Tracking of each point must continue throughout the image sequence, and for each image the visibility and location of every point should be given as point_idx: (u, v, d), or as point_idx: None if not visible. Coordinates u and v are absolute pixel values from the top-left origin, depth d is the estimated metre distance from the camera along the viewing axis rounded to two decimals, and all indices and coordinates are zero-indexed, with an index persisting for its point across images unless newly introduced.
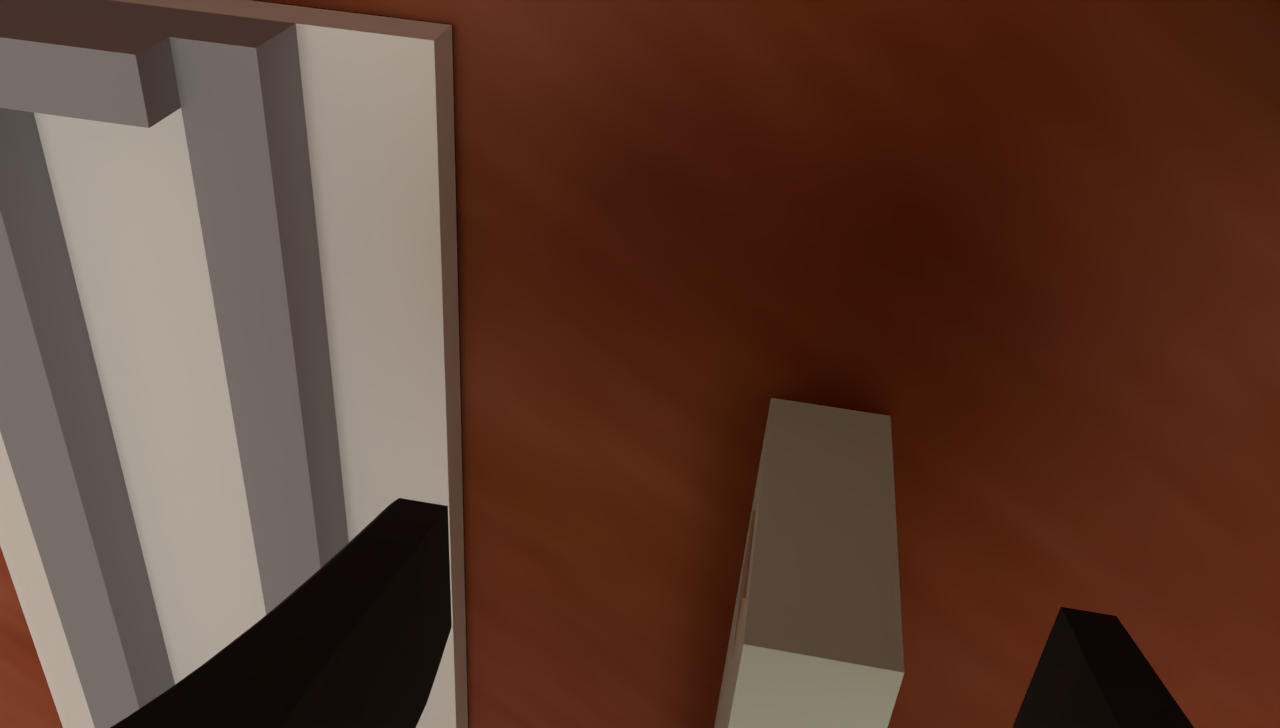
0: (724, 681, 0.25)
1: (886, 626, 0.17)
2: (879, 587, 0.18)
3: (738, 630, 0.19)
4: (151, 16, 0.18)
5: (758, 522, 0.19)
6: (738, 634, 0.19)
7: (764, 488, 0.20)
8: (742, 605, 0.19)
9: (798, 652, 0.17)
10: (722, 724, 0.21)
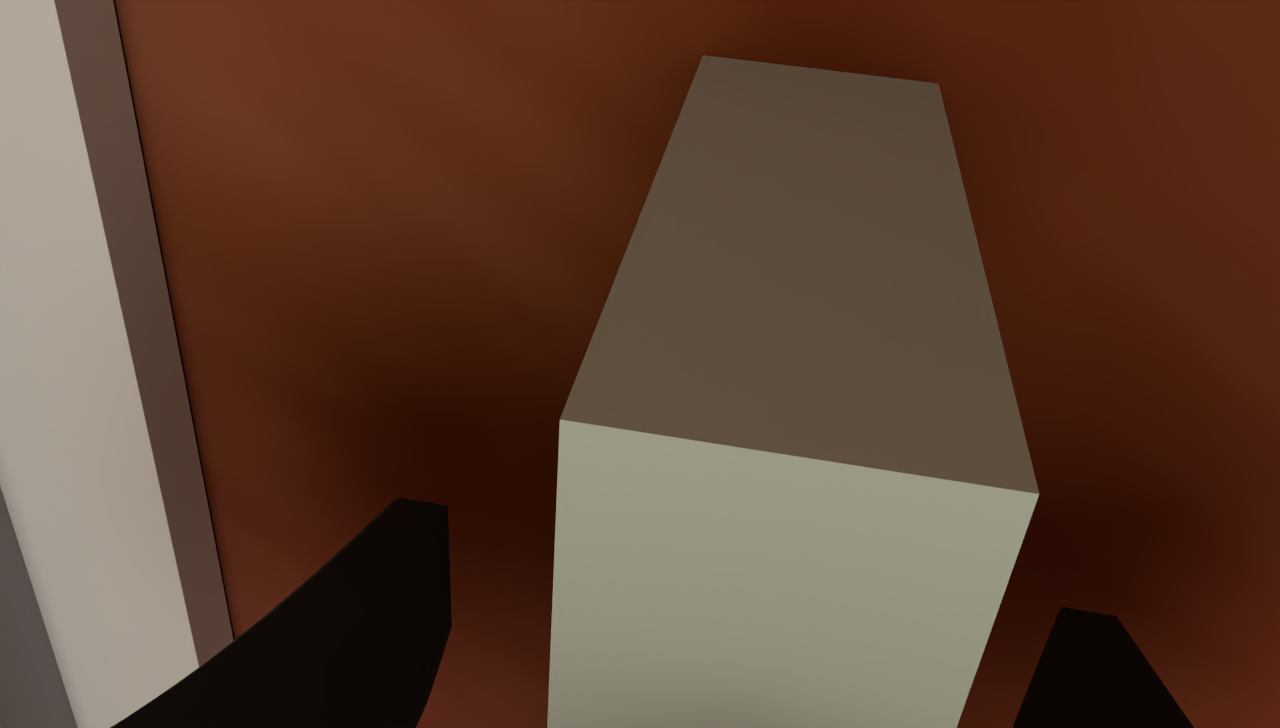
0: None
1: (971, 390, 0.06)
2: (942, 316, 0.07)
3: None
4: None
5: (647, 202, 0.08)
6: None
7: (669, 158, 0.09)
8: None
9: (719, 442, 0.06)
10: None
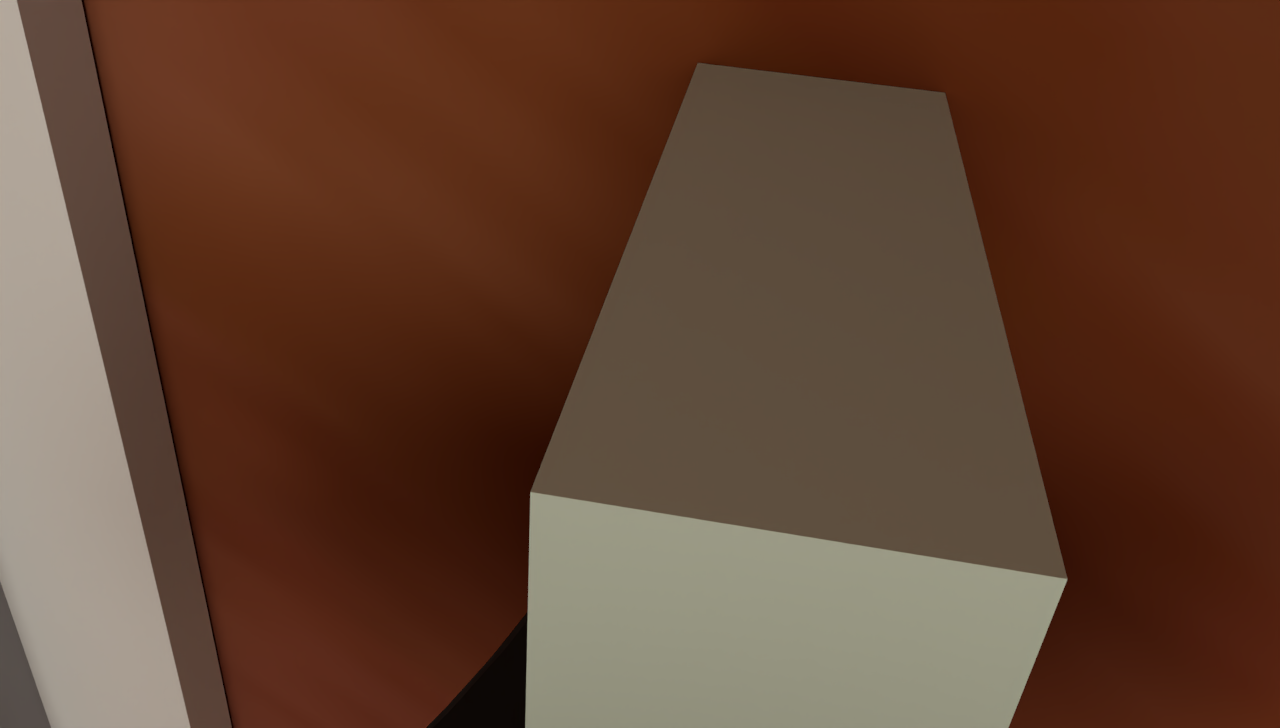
0: None
1: (988, 452, 0.06)
2: (956, 364, 0.06)
3: None
4: None
5: (634, 232, 0.07)
6: None
7: (659, 180, 0.08)
8: None
9: (708, 517, 0.05)
10: None
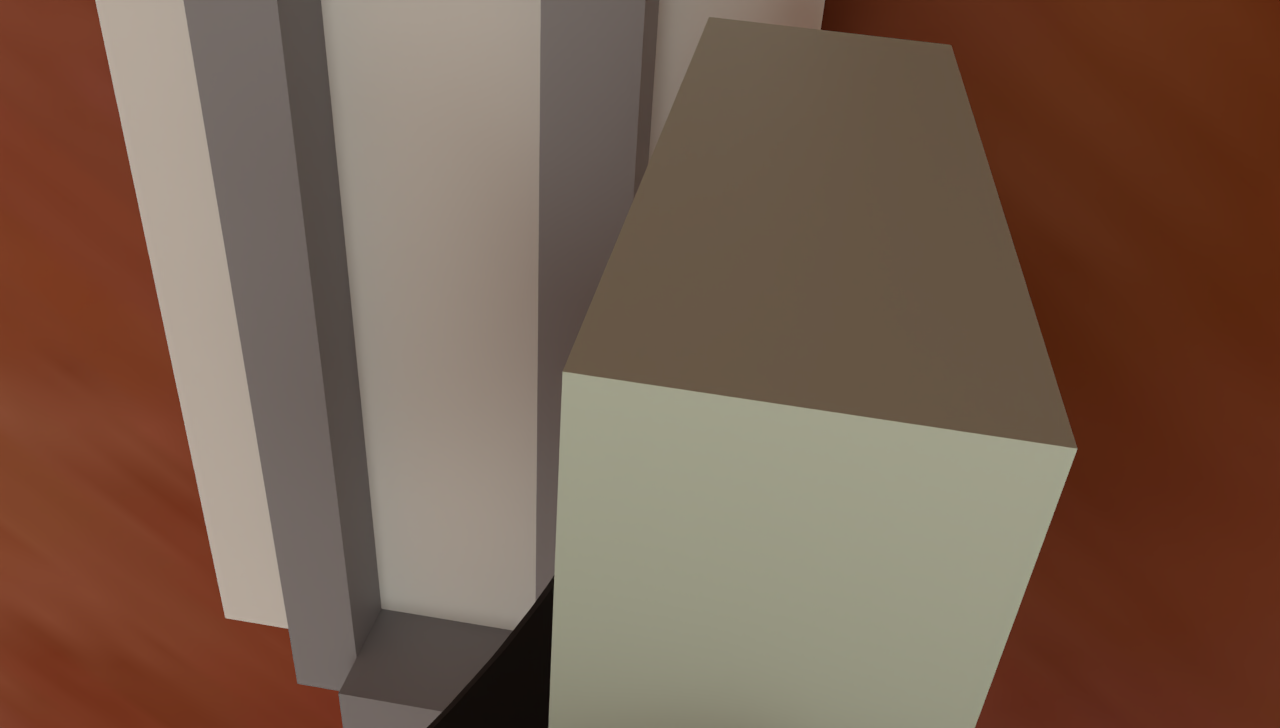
0: None
1: (1000, 344, 0.06)
2: (967, 271, 0.07)
3: None
4: None
5: (653, 159, 0.08)
6: None
7: (676, 116, 0.09)
8: None
9: (733, 394, 0.05)
10: None
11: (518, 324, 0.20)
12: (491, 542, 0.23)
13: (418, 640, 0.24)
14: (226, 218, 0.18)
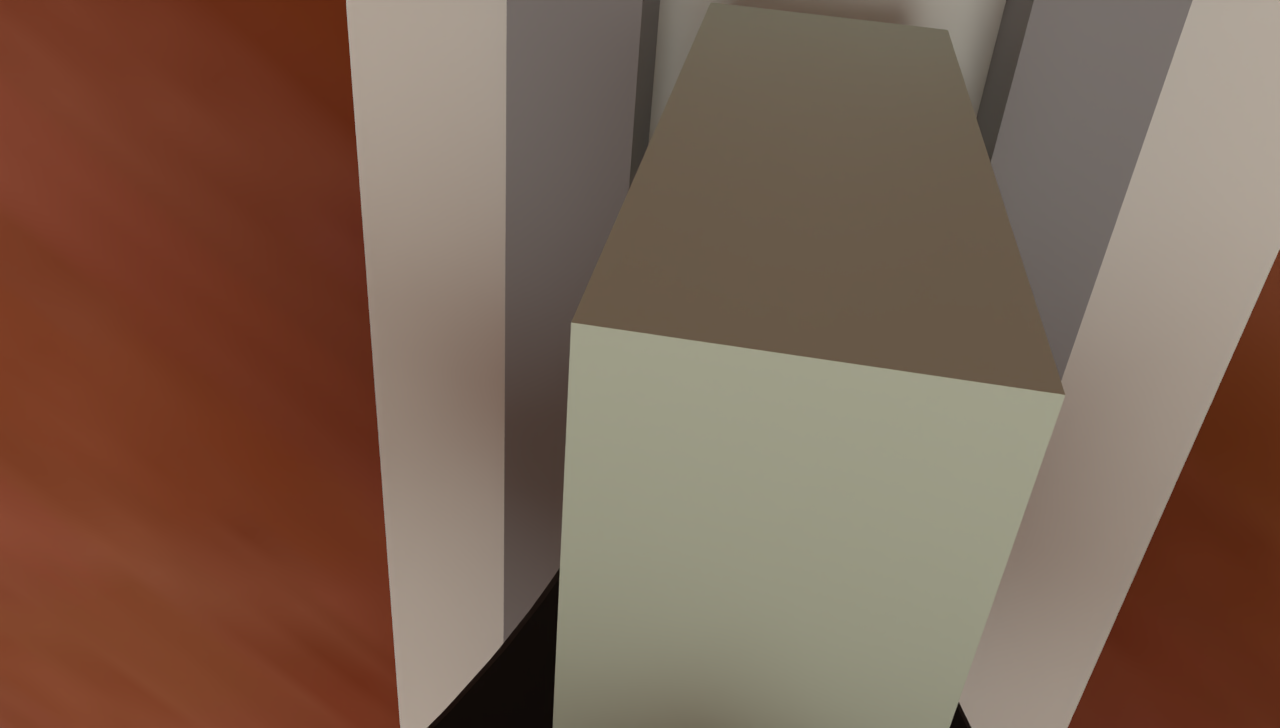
0: None
1: (992, 301, 0.06)
2: (961, 235, 0.07)
3: None
4: None
5: (657, 132, 0.08)
6: None
7: (677, 93, 0.09)
8: None
9: (735, 346, 0.05)
10: None
11: None
12: None
13: None
14: (512, 420, 0.15)
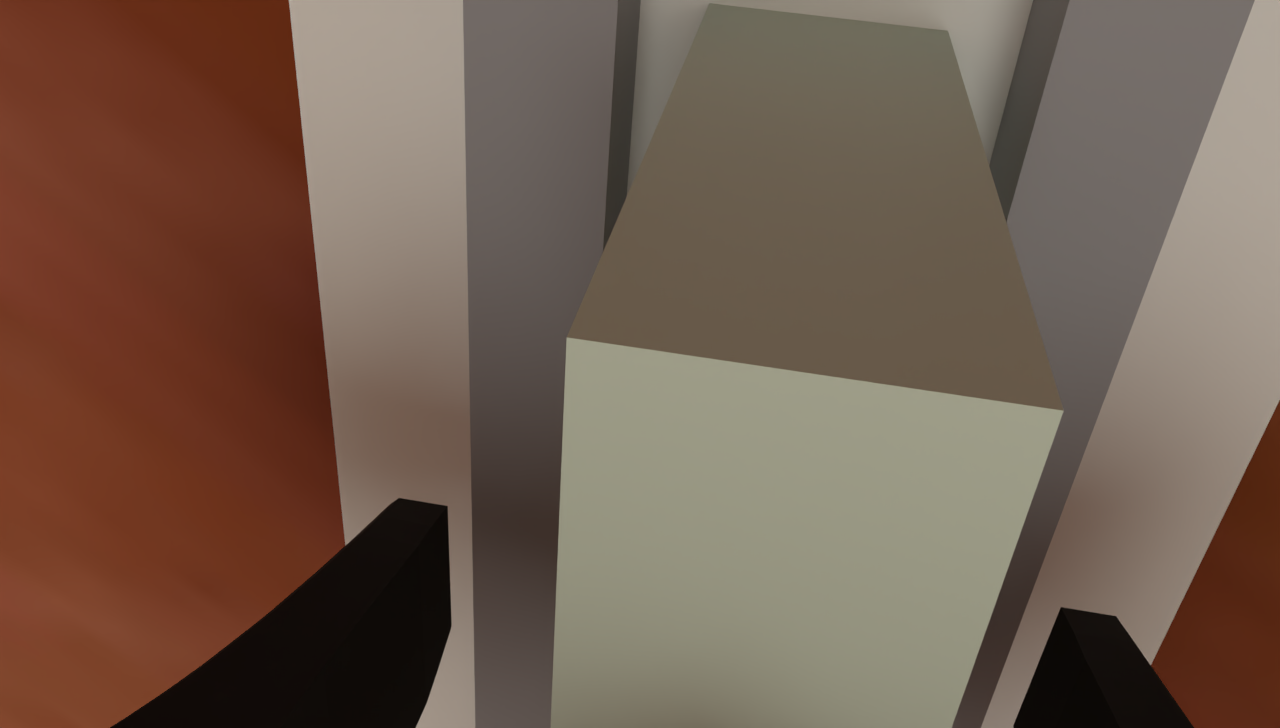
0: None
1: (990, 313, 0.06)
2: (960, 244, 0.07)
3: None
4: None
5: (654, 138, 0.08)
6: None
7: (676, 98, 0.09)
8: None
9: (732, 360, 0.05)
10: None
11: None
12: None
13: None
14: (480, 488, 0.13)
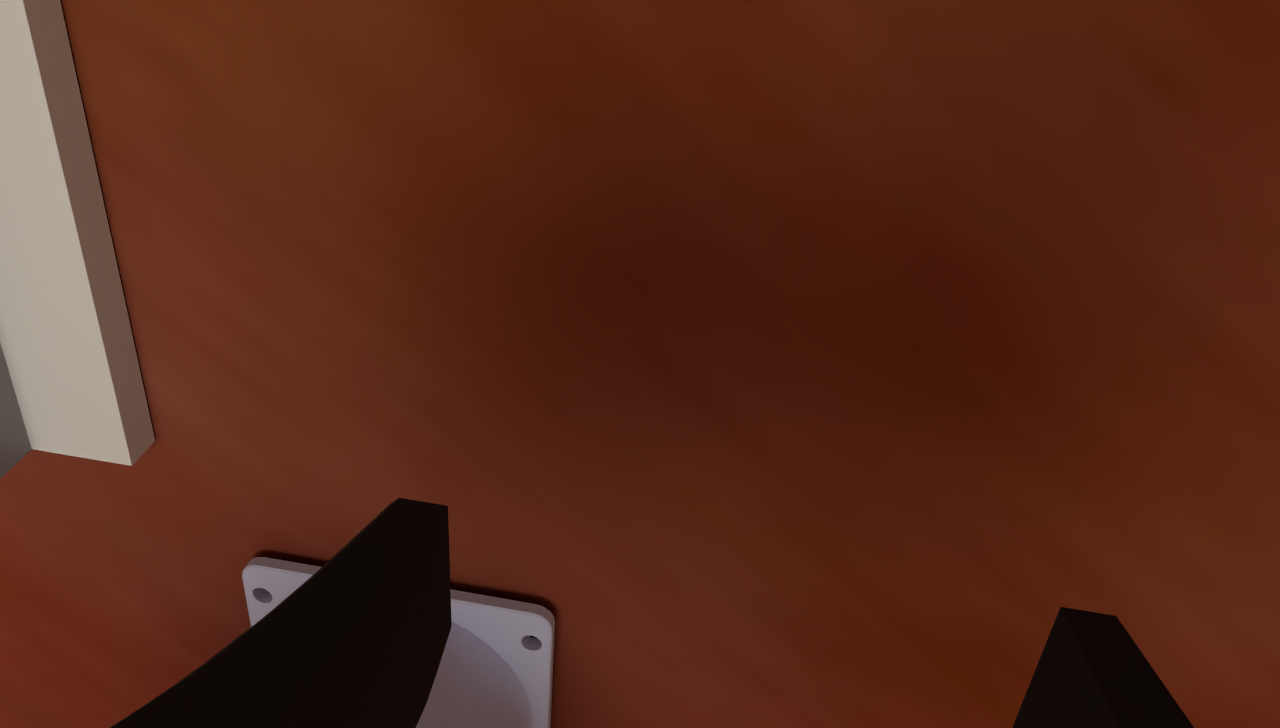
0: None
1: None
2: None
3: None
4: None
5: None
6: None
7: None
8: None
9: None
10: None
11: None
12: None
13: None
14: None
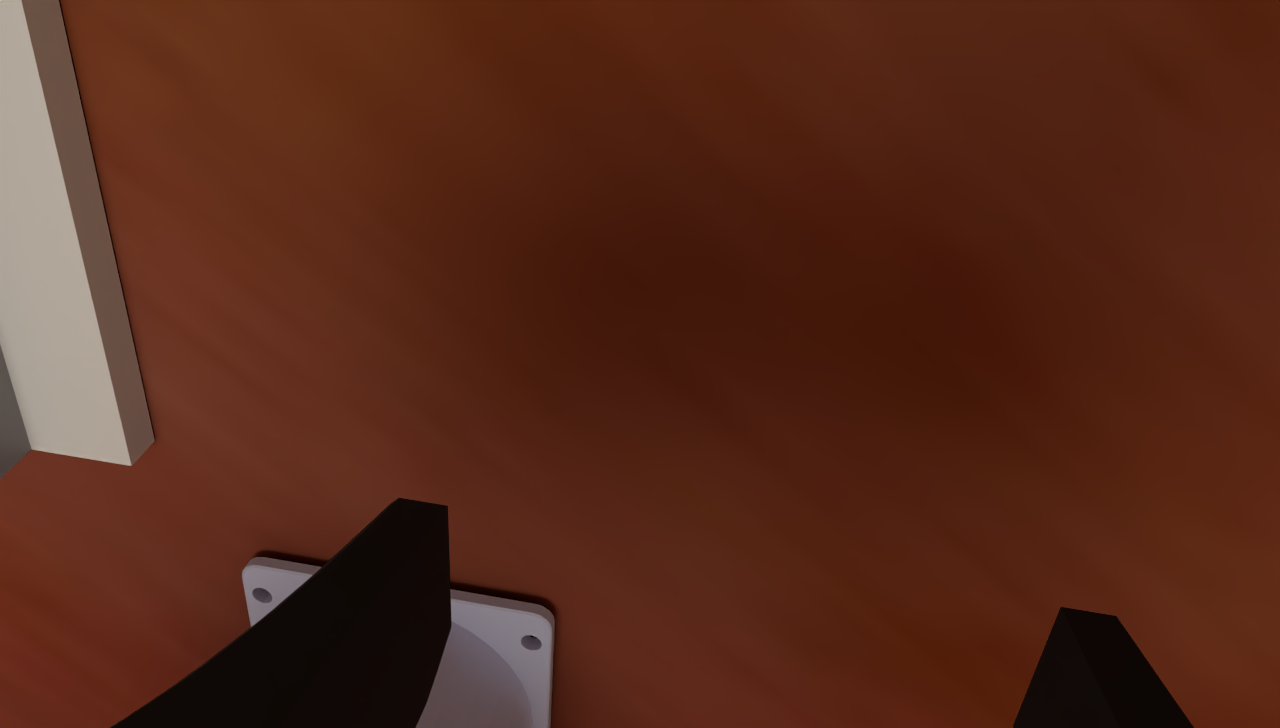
0: None
1: None
2: None
3: None
4: None
5: None
6: None
7: None
8: None
9: None
10: None
11: None
12: None
13: None
14: None
